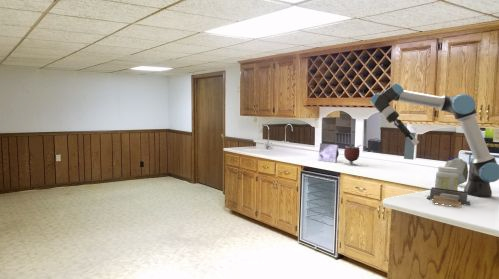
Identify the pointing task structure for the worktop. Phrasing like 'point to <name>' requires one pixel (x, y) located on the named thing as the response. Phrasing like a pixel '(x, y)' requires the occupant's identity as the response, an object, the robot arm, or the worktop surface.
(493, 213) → the worktop surface
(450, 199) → the offcut stack
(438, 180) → the supplement tub
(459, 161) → the rock
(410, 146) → the slate board
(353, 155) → the mate gourd
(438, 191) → the slot rack
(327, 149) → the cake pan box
